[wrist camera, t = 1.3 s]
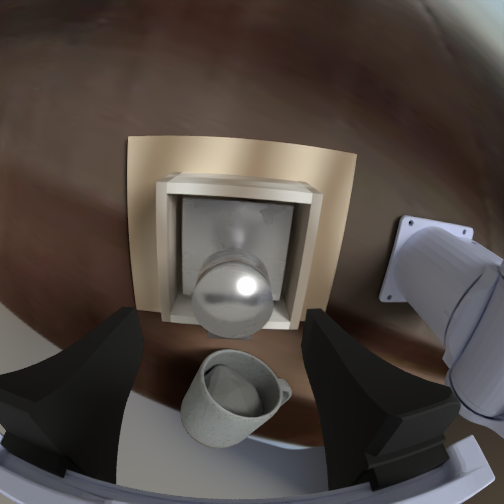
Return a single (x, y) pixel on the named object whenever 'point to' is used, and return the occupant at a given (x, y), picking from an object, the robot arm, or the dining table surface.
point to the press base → (241, 188)
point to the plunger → (234, 261)
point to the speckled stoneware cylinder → (231, 398)
